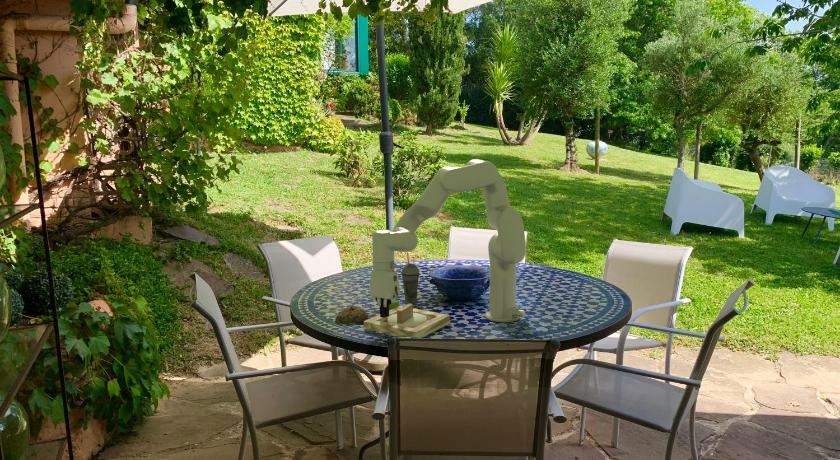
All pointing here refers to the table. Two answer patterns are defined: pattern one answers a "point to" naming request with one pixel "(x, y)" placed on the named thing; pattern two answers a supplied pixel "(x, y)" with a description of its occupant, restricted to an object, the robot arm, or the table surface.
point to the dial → (407, 317)
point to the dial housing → (432, 324)
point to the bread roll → (352, 315)
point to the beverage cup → (410, 281)
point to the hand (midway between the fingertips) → (384, 316)
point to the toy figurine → (394, 305)
